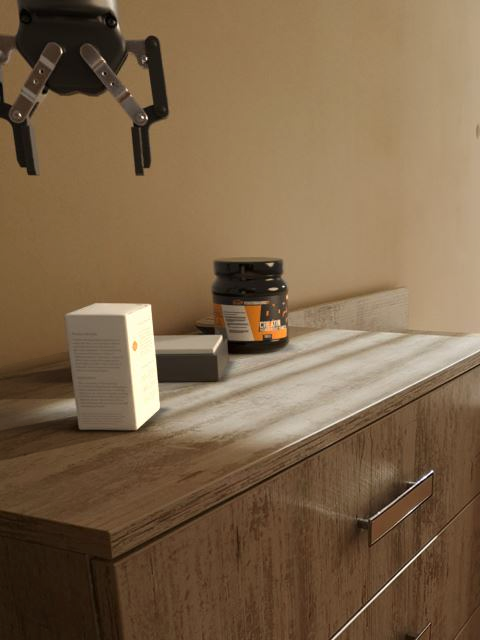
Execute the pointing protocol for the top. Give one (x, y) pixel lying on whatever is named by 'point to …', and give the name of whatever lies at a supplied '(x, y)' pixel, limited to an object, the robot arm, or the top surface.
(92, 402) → the small box
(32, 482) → the top surface
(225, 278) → the supplement container
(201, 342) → the scale
